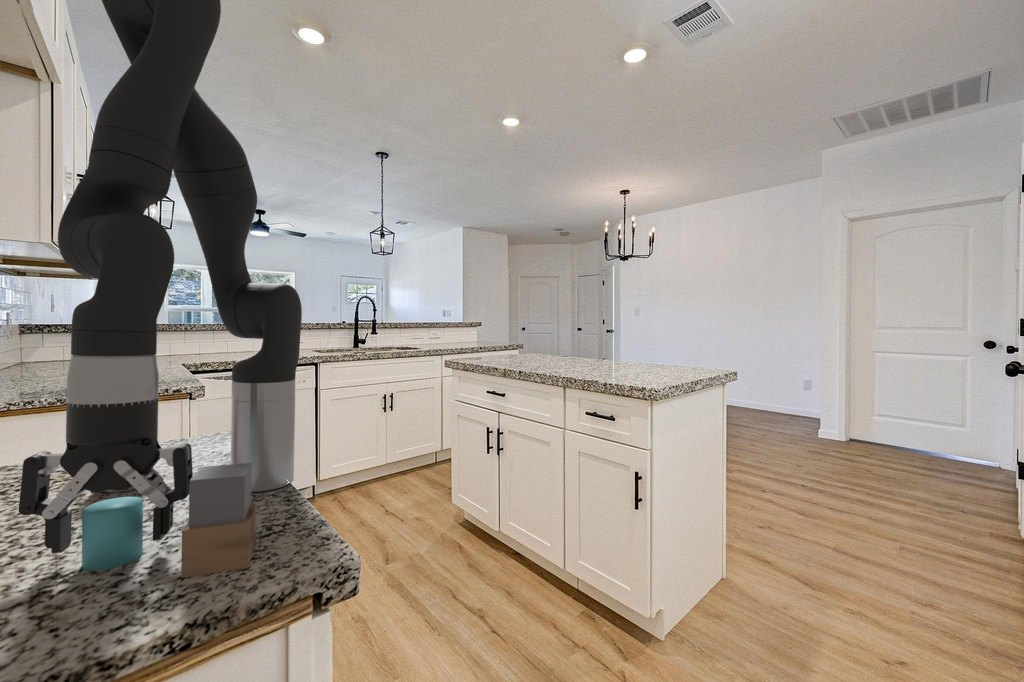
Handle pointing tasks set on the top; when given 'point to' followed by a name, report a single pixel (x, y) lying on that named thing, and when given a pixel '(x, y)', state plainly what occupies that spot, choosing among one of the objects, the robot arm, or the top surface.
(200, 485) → the charcoal top block
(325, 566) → the top surface
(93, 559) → the teal cylinder
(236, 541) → the walnut base block
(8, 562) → the top surface
